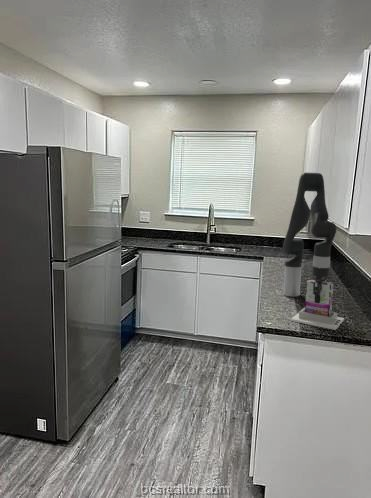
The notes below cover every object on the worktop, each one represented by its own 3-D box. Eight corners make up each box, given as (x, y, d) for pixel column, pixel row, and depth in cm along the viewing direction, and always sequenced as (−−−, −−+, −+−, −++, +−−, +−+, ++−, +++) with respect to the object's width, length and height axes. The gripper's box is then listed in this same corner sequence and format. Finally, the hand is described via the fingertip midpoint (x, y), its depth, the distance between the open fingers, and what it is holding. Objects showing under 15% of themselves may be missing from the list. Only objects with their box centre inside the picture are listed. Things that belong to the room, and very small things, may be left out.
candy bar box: (331, 316, 173) (334, 282, 171) (329, 319, 169) (331, 284, 166) (307, 312, 179) (309, 278, 177) (304, 314, 175) (306, 280, 173)
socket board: (301, 312, 186) (302, 304, 186) (344, 320, 175) (344, 311, 175) (290, 320, 173) (291, 312, 173) (336, 330, 162) (336, 321, 162)
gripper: (317, 262, 178) (314, 296, 181) (308, 267, 167) (306, 303, 169) (333, 264, 174) (331, 299, 177) (325, 269, 162) (323, 306, 165)
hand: (318, 301), depth 173 cm, fingers closed on candy bar box, 5 cm apart
